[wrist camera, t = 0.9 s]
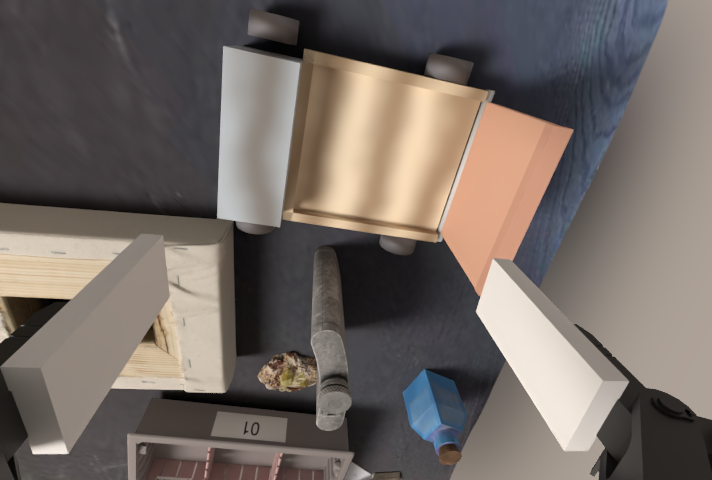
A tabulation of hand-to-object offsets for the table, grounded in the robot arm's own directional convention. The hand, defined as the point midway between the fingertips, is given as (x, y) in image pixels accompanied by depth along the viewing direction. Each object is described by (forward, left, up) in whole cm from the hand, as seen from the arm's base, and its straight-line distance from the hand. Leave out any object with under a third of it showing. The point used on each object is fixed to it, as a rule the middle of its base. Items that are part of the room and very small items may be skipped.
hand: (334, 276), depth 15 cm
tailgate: (-6, +14, -26) cm, 30 cm away
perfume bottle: (+25, +38, -29) cm, 53 cm away
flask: (+18, +13, -29) cm, 36 cm away
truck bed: (0, +3, -29) cm, 29 cm away
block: (+49, +48, -29) cm, 74 cm away
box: (+33, -11, -29) cm, 45 cm away
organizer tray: (+60, +22, -29) cm, 70 cm away
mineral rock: (+33, +17, -29) cm, 47 cm away
